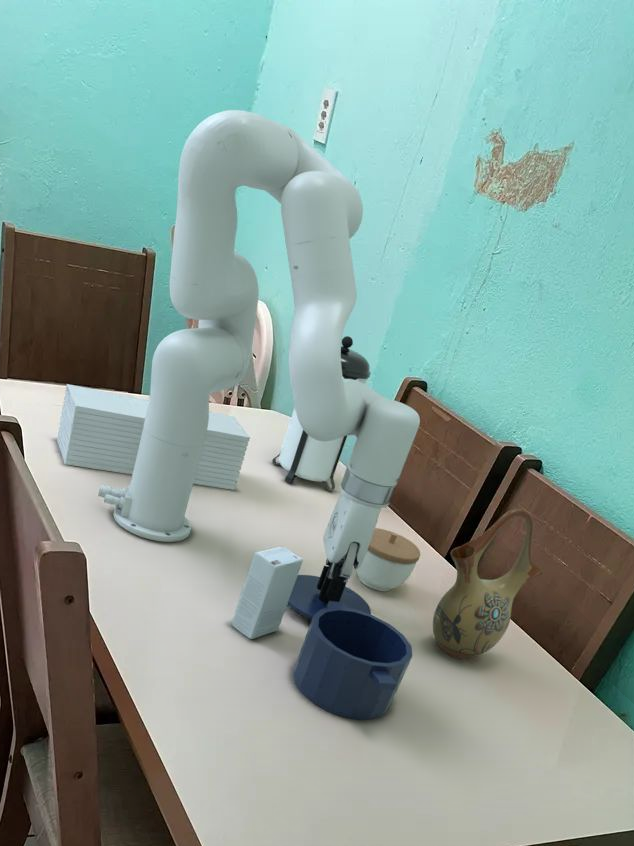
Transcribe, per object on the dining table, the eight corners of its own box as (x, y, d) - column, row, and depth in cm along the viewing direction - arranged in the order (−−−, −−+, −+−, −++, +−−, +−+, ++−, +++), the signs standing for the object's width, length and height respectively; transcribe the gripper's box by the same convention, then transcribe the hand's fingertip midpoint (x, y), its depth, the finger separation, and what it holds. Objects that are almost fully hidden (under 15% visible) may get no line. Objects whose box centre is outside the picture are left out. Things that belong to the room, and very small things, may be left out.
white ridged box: (64, 464, 151) (75, 405, 146) (56, 440, 159) (66, 383, 154) (234, 490, 166) (250, 437, 160) (219, 467, 174) (233, 416, 168)
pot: (318, 730, 107) (341, 675, 103) (275, 643, 121) (293, 591, 117) (412, 735, 112) (437, 682, 108) (360, 651, 127) (380, 602, 123)
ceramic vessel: (423, 664, 130) (491, 514, 118) (399, 631, 137) (462, 486, 125) (511, 673, 136) (584, 532, 124) (485, 640, 143) (552, 504, 131)
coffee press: (349, 486, 188) (399, 350, 174) (314, 497, 175) (364, 351, 161) (285, 453, 194) (328, 318, 180) (246, 461, 181) (288, 317, 167)
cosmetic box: (257, 616, 126) (281, 543, 120) (279, 632, 124) (305, 559, 118) (228, 625, 122) (252, 549, 116) (251, 642, 120) (277, 566, 114)
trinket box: (401, 605, 145) (422, 557, 140) (341, 583, 145) (360, 533, 140) (406, 581, 154) (426, 534, 150) (349, 559, 154) (367, 512, 150)
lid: (295, 627, 125) (309, 587, 122) (267, 576, 137) (279, 538, 134) (382, 635, 131) (398, 598, 128) (349, 586, 143) (362, 551, 140)
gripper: (337, 460, 131) (300, 566, 139) (349, 501, 117) (307, 616, 126) (383, 474, 132) (344, 578, 141) (400, 516, 118) (356, 628, 127)
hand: (327, 595), depth 133 cm, fingers closed on lid, 2 cm apart
